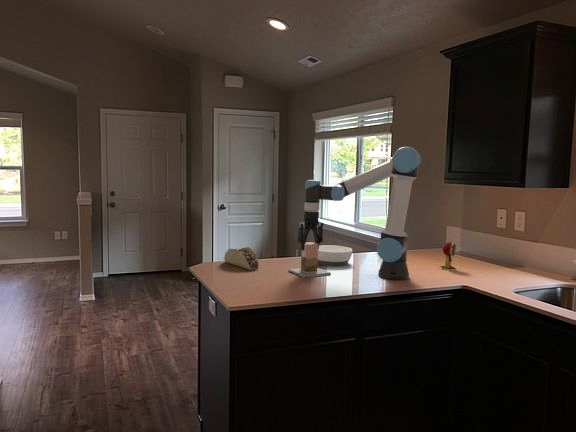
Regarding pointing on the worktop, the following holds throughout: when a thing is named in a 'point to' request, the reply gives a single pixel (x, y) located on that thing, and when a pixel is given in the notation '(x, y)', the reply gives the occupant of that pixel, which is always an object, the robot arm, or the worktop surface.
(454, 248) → the figurine
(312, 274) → the board
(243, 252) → the taco
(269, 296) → the worktop surface
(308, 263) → the walnut block
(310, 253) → the terracotta block
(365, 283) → the worktop surface
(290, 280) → the worktop surface
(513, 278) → the worktop surface
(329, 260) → the bowl
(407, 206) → the robot arm
